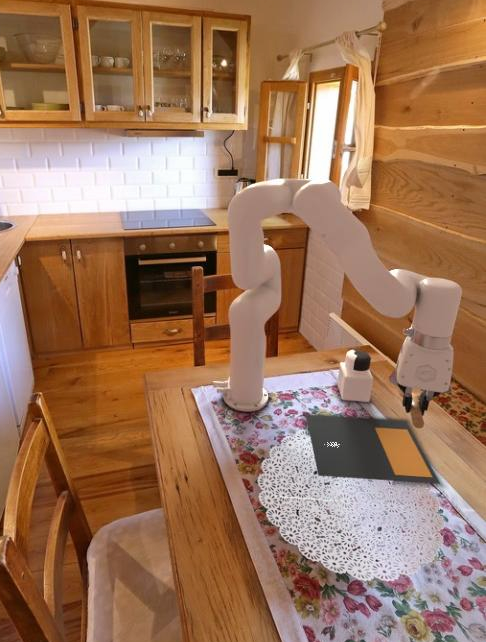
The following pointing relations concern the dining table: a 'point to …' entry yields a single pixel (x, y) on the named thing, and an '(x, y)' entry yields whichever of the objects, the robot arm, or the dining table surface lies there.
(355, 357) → the container
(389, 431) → the mat
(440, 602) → the dining table surface
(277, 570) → the dining table surface
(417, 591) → the dining table surface
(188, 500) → the dining table surface
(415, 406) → the wooden rod with disc
